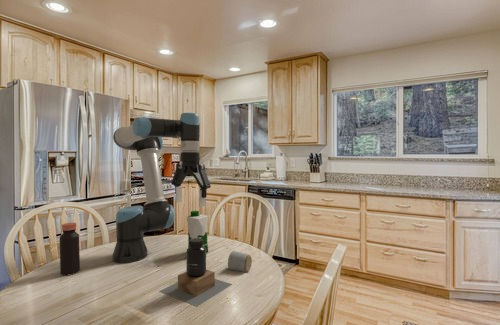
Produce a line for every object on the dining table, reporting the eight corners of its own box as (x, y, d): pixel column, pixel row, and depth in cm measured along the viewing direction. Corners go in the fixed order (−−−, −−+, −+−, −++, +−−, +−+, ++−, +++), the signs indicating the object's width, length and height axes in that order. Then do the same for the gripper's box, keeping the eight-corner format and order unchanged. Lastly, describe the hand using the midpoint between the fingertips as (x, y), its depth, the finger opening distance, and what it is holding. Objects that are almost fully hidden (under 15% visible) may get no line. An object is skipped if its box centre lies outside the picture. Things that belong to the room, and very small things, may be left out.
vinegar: (56, 273, 115) (55, 224, 114) (73, 267, 121) (72, 221, 120) (66, 277, 112) (65, 226, 111) (83, 270, 118) (82, 223, 117)
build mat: (159, 294, 97) (158, 291, 97) (196, 275, 112) (196, 272, 112) (196, 309, 87) (196, 306, 87) (232, 286, 102) (232, 284, 102)
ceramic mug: (246, 275, 111) (246, 256, 111) (227, 273, 114) (227, 254, 114) (255, 266, 121) (255, 248, 121) (237, 264, 124) (237, 246, 124)
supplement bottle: (189, 279, 95) (189, 244, 95) (184, 272, 101) (183, 238, 101) (209, 275, 98) (208, 241, 98) (202, 268, 104) (202, 236, 104)
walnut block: (177, 289, 98) (177, 275, 98) (196, 279, 106) (196, 266, 106) (196, 296, 93) (196, 281, 93) (214, 285, 101) (214, 272, 101)
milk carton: (198, 248, 145) (198, 209, 144) (211, 251, 139) (210, 211, 139) (185, 253, 138) (184, 212, 137) (198, 257, 132) (197, 214, 132)
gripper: (162, 151, 118) (162, 201, 119) (206, 152, 104) (206, 209, 105) (176, 151, 124) (176, 199, 125) (219, 152, 110) (219, 206, 111)
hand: (190, 204), depth 115 cm, fingers open, 13 cm apart
